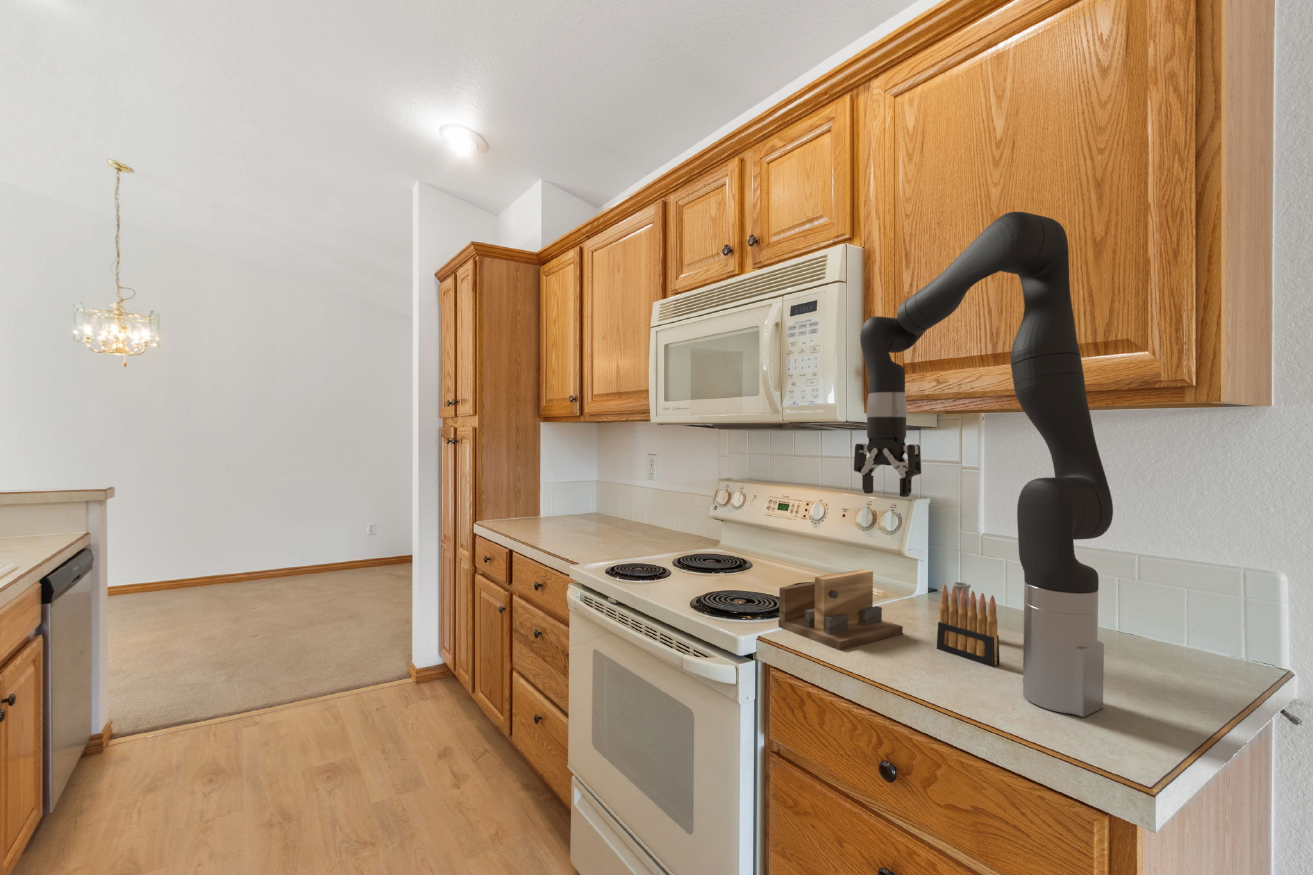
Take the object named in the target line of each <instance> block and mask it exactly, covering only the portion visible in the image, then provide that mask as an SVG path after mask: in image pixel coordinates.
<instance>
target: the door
mask: <svg viewBox="0 0 1313 875" xmlns="http://www.w3.org/2000/svg"><path fill="white" fill-rule="evenodd" d="M814 582H815V624H814V628H816V629H818V630H821V631H825V617H828V616H833V615H837V614H842V613H843V614H847V615H848V626H850V625H854V624H858V623H860V610H861V609H865V608H870V607H874V605H873V604H874V603H873V602H874V601H873V600H874V599H873V598H874V597H873V596H874V594H873V593H874V571H873V570H869V569H864V568H862V569H856V570H855V569H854V570H850V571H849V570H848V571H844V572H843V571H841V572H838V573H832V574H826V575H819V576H815V577H814Z"/></svg>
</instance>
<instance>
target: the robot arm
mask: <svg viewBox="0 0 1313 875" xmlns="http://www.w3.org/2000/svg"><path fill="white" fill-rule="evenodd" d="M1068 242H1069V241H1068V237H1067V233H1066V231H1065V228H1064V227H1063V225H1062V224H1061V223H1060V222H1059V221H1057V220H1056V219H1053V218H1050V217H1047V216H1043V215H1039V214H1034V213H1031V212H1027V211H1026V212H1025V211H1010V212H1006V213H1004V214H1003V215H1001V216H1000V217H998V218H997V219H995V220H993V222H991V223H990V224H989V225H988V226H987V227H986V228H985V229H984V230H983V231H982V232H981V233H980V234H979V235H978V236H977V237H976V238H975V239H973V241H972V242H971V243H970V244H969V245H968V246H967V247H966V248H965V249H964V250H963V251H962V252H961V253H960V254H959V255H958V256H957V257H956V258H955V259H954V260H953V261H952V262H951V263H950V264H949V265H948V266H947V267H946V268H945V269H944V270H943V271H942V272H941V273H940V274H939V275H937V276H936V277H935V278H934V279H933V280H931V281H930V282H929V283H928V284H926V285H925V286H923V287H921V289H919V290H918V291H916V292H915V293H914V294H913V295H911V296H909V297H908V298H907V299H906V300H904V301H903V302H902V303H901V304H900V305H899V307H898V308H897V311H896V317H887V316H872V317H870V318H868V319H867V320H866V321H865V322H864V323H863V325H862V328H861V330H860V335H859V338H860V339H859V340H860V347H861V351H862V355H863V358H864V361H865V366H866V369H867V373H868V395H867V396H868V398H867V405H866V436H867V439H868V442H867V444H866V443H856V444H855V445H854V457H853V459H854V460H853V461H854V462H853V471H854V472H856V473H859V474H860V475H861V478H862V483H861V484H862V486H861V487H862V490H863V493H864V494H868V495H869V494H870V495H871V494H873V493H874V475H873V474H874V472H875V471H876V469H877V468H879V467H880V466H892V467H893V469H894V470H896V471H897V473H898V475H899V476H900V477H899V497H900V498H901V497H902V498H908V497H910V495H911V493H912V479H913V477H915V476H919V475H921V474H922V459H921V457H922V456H921V446H920V445H919V444H917V443H915V444H910V443H909V444H908V445H906V442H905V440H906V437H907V398H906V370H905V367H904V366H903V365H901V364H899V363H898V362H897V363H896V362H894V361H893V360H892V358H891V353H892V354H898V353H903V352H905V351H908V350H909V349H911V348H912V347H913V346H914V345H915V344H916V343H917V342H918V341H919V340H920V339H921V337H922V336H923V335H924V334H925V332H927V331H928V330H929V329H931V328H932V327H934V326H935V325H937V324H938V323H940V322H942V321H943V320H945V319H947V318H948V317H949V316H950V315H952V314H953V312H955V311H956V310H957V309H958V308H959V306H960V304H961V303H962V302H963V300H964V297H965V296H966V295H967V292H968V291H969V290H970V289H971V288H972V287H973V286H975V284H977V283H978V282H980V281H982V280H985V278H989V277H990V276H992V275H994V274H996V273H999V272H1003V273H1009V274H1014V275H1017V276H1018V278H1019V282H1020V285H1021V289H1022V295H1023V297H1022V298H1023V304H1024V306H1023V307H1024V311H1023V316H1022V319H1021V322H1020V325H1019V327H1018V330H1017V332H1016V334H1015V337H1014V340H1013V343H1012V346H1011V351H1010V368H1011V373H1012V374H1011V376H1012V381H1013V382H1012V383H1013V390H1014V394H1015V397H1016V399H1017V402H1018V404H1019V406H1020V408H1021V409H1022V410H1023V412H1024V413H1025V415H1026V416H1027V418H1028V419H1029V420H1030V422H1031V423H1032V424H1033V426H1034V427H1035V428H1036V430H1037V431H1038V432H1039V434H1040V436H1041V437H1042V438H1043V440H1044V442H1045V444H1046V446H1047V448H1048V451H1049V453H1050V457H1051V461H1052V465H1053V470H1054V477H1039V478H1034V479H1032V480H1030V481H1028V482H1027V483H1026V484H1025V485H1024V486H1023V487H1022V489H1021V491H1020V493H1019V496H1018V501H1017V505H1016V506H1017V508H1016V510H1017V511H1016V514H1017V516H1016V517H1017V520H1016V522H1017V540H1018V542H1017V544H1018V557H1019V562H1020V565H1021V566H1022V570H1023V575H1024V579H1023V580H1024V581H1023V582H1024V585H1023V587H1024V589H1023V592H1024V593H1023V647H1022V648H1023V649H1022V650H1023V651H1022V656H1023V657H1022V660H1023V661H1022V668H1023V669H1022V695H1023V697H1024V698H1025V699H1026V700H1027V701H1028V702H1030V703H1032V704H1033V705H1036V706H1038V707H1041V708H1044V709H1046V710H1050V711H1054V712H1058V713H1061V714H1062V713H1063V714H1069V715H1074V716H1075V715H1076V716H1078V717H1081V718H1084V717H1087V716H1089V715H1091V714H1093V713H1095V712H1097V711H1099V710H1102V709H1103V708H1104V678H1105V677H1104V676H1105V675H1104V672H1105V671H1104V665H1105V661H1104V660H1105V655H1104V654H1105V644H1104V642H1102V641H1100V640H1098V639H1099V638H1098V635H1099V634H1098V632H1099V630H1098V629H1099V624H1098V623H1099V583H1100V582H1099V574H1098V571H1097V570H1096V569H1094V568H1093V567H1092V566H1089V565H1087V564H1084V563H1082V562H1080V561H1079V560H1078V559H1077V558H1076V555H1075V543H1074V541H1076V540H1077V541H1078V540H1090V539H1096V538H1099V537H1101V536H1103V535H1104V534H1105V533H1106V532H1107V531H1108V529H1109V528H1110V527H1111V524H1112V521H1113V515H1114V504H1113V498H1112V494H1111V490H1110V487H1109V482H1108V479H1107V475H1106V473H1105V469H1104V466H1103V462H1102V459H1101V456H1100V452H1099V449H1098V444H1097V442H1096V439H1095V438H1096V437H1095V433H1094V428H1093V423H1092V418H1091V413H1090V412H1091V411H1090V408H1089V407H1090V406H1089V403H1088V398H1087V390H1086V383H1085V374H1084V369H1083V362H1082V357H1081V352H1080V347H1079V343H1078V338H1077V330H1076V324H1075V315H1074V309H1073V305H1072V297H1071V286H1070V282H1071V281H1070V280H1071V279H1070V257H1069V256H1070V255H1069V252H1070V251H1069V243H1068ZM867 454H869V456H868V455H867ZM905 454H906V456H907V460H906V458H905V456H904V455H905ZM867 456H868V457H867Z"/></svg>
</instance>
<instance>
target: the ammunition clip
mask: <svg viewBox="0 0 1313 875" xmlns="http://www.w3.org/2000/svg"><path fill="white" fill-rule="evenodd" d="M940 598H941V599H940V606H939V621H938V622H937V636H936V650H938V649H939V651H941V652H944V653H948V654H951V655H954V656H957V657H960V658H963V659H967V660H968V661H969V660H970V661H972V662H975V663H979V664H981V665H985V666H988V667H991V668H994V667H998V666H1000V664H1001V662H1000V638H999V634H998V617H997V603H996V600H995V599H996V598H995V597H994V595H993V594H992V595H991V596H990V598H989V601H988V610H987V601H986V597H985V595H984V593H983V592H981V594H980V596H979V600H978V609H977V597H976V593H975V591H974V590H972V591H971V592H970V593H969V610H968V611H967V597H966V592H965V590H964V589H962V591H961V595H960V604H959V610H958V603H957V592H956V588H955V587H954V586H953V587H952V589H951V593H950V598H949V591H948V588H947V585H946V584H943V586H942V590H941V595H940Z"/></svg>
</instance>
